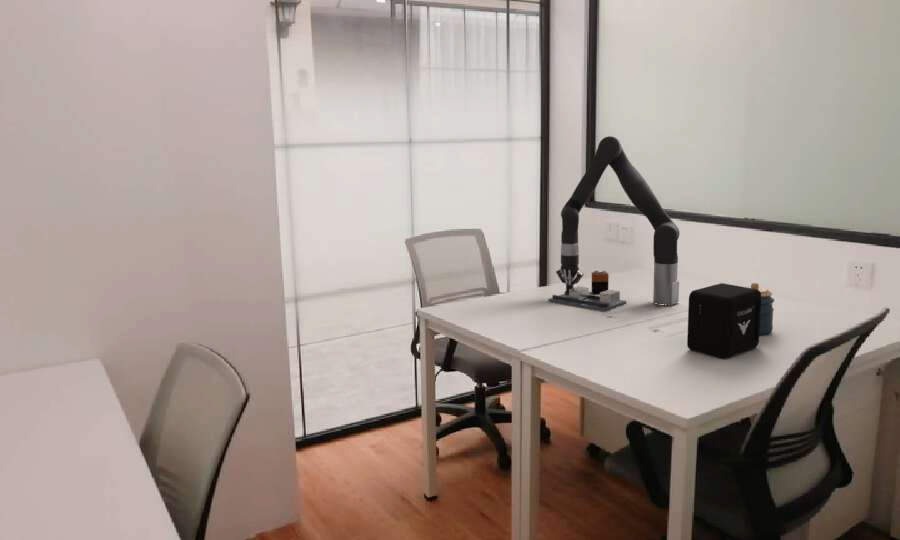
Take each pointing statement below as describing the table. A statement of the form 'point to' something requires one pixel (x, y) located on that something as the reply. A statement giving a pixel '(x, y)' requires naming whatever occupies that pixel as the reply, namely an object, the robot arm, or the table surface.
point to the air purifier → (724, 320)
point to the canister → (765, 310)
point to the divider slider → (579, 292)
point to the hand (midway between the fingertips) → (569, 293)
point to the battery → (599, 282)
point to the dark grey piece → (592, 300)
